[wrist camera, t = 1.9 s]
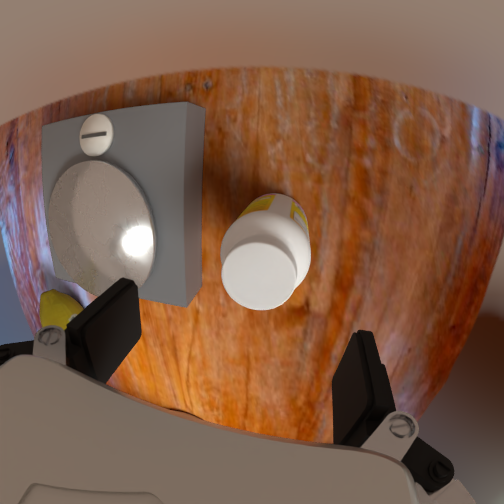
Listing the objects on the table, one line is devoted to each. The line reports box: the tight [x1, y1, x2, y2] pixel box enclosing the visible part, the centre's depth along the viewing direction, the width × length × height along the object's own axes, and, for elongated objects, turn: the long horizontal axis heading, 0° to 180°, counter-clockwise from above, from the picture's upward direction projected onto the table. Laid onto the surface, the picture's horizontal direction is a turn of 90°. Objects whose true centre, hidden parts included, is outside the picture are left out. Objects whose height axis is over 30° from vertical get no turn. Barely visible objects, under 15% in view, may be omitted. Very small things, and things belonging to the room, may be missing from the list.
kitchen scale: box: [42, 102, 206, 307], centre depth 28 cm, size 20×20×6 cm
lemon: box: [40, 289, 84, 330], centre depth 35 cm, size 11×8×8 cm
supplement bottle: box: [220, 193, 311, 310], centre depth 23 cm, size 7×7×13 cm
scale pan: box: [48, 160, 158, 297], centre depth 26 cm, size 15×15×1 cm
